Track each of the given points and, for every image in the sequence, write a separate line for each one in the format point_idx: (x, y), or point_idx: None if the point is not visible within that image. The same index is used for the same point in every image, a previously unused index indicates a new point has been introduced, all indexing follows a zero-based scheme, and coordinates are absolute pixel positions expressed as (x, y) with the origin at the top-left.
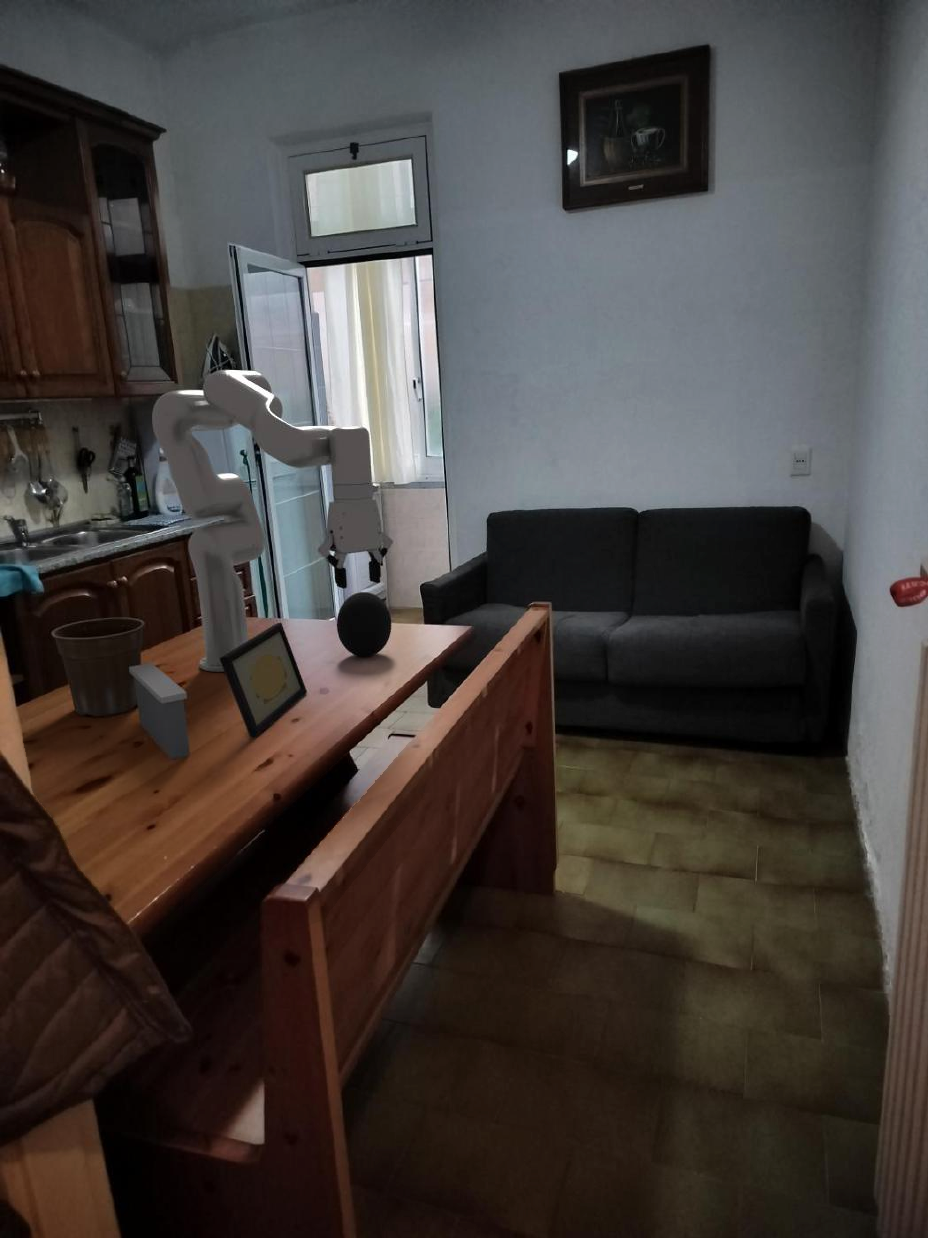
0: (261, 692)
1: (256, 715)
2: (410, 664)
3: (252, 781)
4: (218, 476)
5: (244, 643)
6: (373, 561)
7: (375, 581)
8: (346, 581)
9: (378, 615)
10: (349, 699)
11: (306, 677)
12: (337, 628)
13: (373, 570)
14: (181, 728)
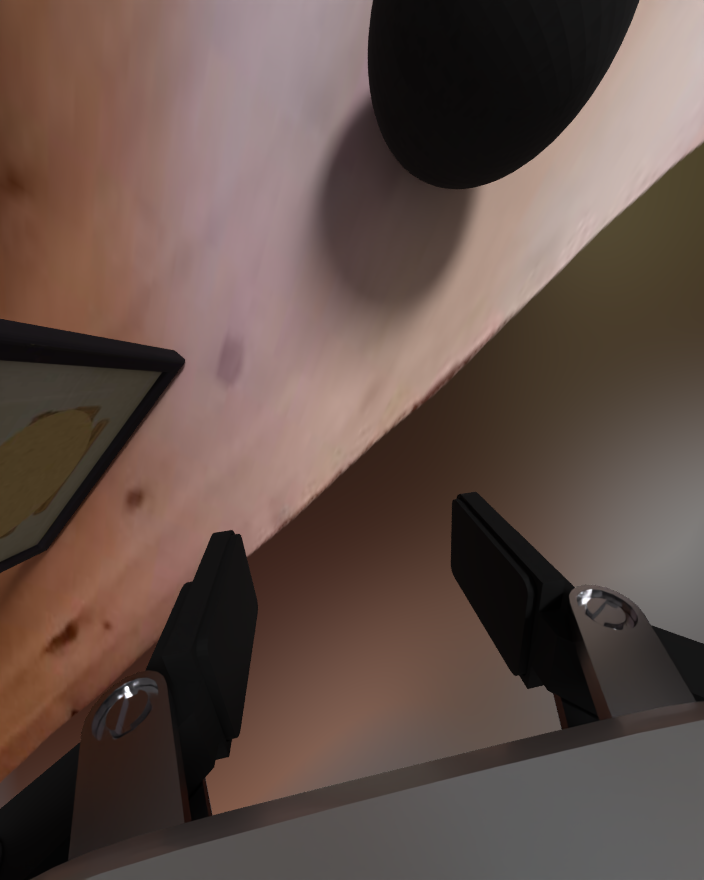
0: (15, 519)
1: (26, 542)
2: (482, 290)
3: (41, 677)
4: None
5: None
6: (539, 655)
7: (453, 561)
8: (251, 640)
9: (523, 144)
10: (266, 444)
11: (211, 219)
12: (372, 5)
13: (488, 599)
14: None
